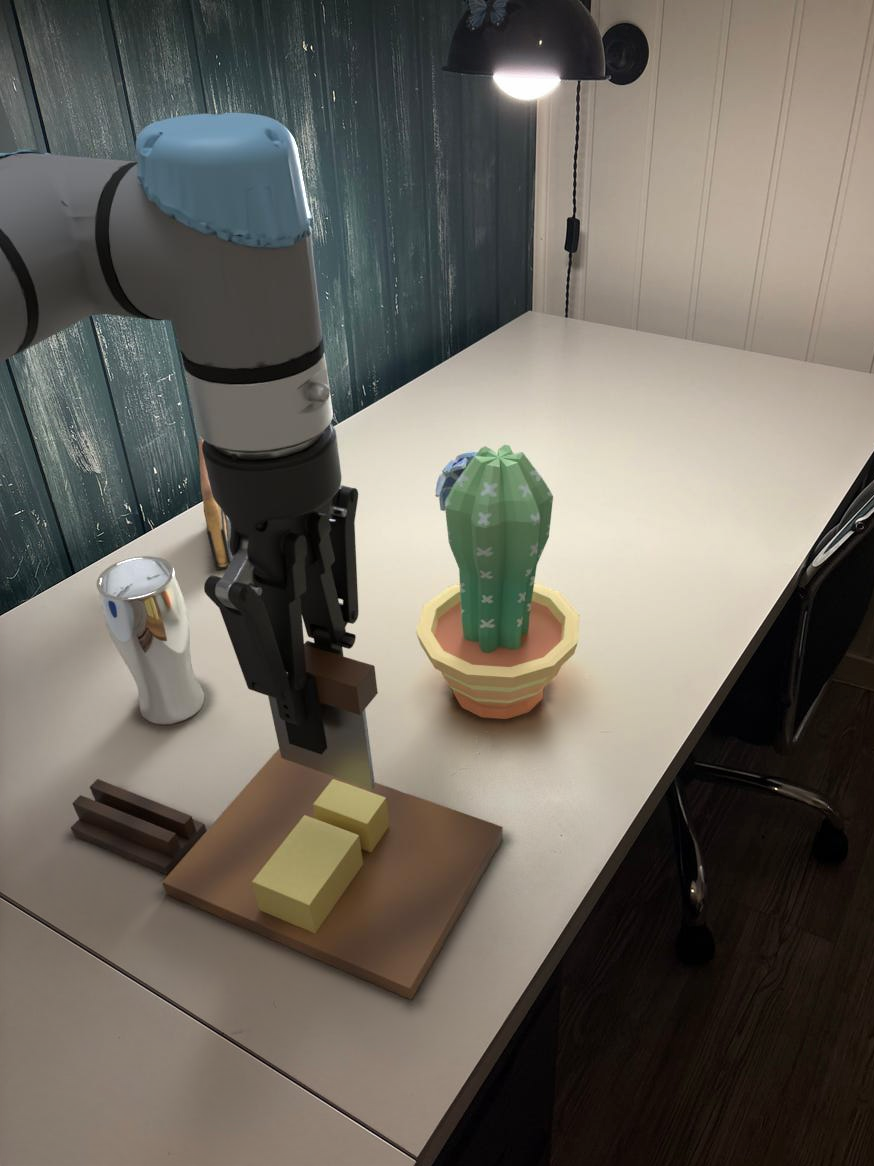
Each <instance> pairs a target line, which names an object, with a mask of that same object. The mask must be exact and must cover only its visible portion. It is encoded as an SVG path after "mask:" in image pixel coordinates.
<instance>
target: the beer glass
mask: <svg viewBox="0 0 874 1166" xmlns="http://www.w3.org/2000/svg"><path fill="white" fill-rule="evenodd" d="M96 588H97V591H98V596H99V600H100V604H101V605H100V606H101V609H102V614H103V617H104V621H105V625H106V627H107V631H108V633H109V635H110V639H111V640H112V642H113V643H114V646H115V648H116V650H117V652H118V654H119V655H120V657H121V659H122V660H123V662H124V664H125V665H126V667H127V668H128V671H129V673H130V674H131V676H132V677H133V679H134V681H135V684H136V688H137V693H138V706H139V711H140V714H141V715H142V717H143V718H144V720H146V721H148V722H149V723H151V724H155V725H174V724H178V723H182V722H184V721H186V720H189V719H190V718H192V717H193V716H194V715H195V714H197V713H198V712H199V711H200V710H201V709H202V707H203V706H204V702H205V692H204V689H203V687H202V686H201V684H200V682H199V680H198V678H197V677H196V674H195V671H194V669H193V663H192V647H191V627H190V619H189V614H188V609H187V604H186V601H185V598H184V594H183V591H182V589H181V585H180V583H179V580H178V579H177V576H176V573H175V569H174V566H173V565H172V564H171V563H170V562H169V561H168V560H166V559H163V558H161V557H157V556H135V557H131V558H127V559H123V560H120V561H117V562H115V563H114V564H112V565H110V566H108V567H107V568H106V569H105V570H103V571H102V572H101V574H100V575H99V576H98V578H97V580H96Z"/></svg>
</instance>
